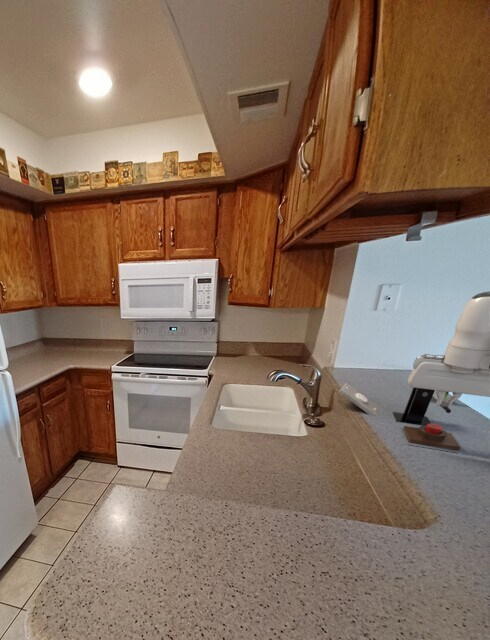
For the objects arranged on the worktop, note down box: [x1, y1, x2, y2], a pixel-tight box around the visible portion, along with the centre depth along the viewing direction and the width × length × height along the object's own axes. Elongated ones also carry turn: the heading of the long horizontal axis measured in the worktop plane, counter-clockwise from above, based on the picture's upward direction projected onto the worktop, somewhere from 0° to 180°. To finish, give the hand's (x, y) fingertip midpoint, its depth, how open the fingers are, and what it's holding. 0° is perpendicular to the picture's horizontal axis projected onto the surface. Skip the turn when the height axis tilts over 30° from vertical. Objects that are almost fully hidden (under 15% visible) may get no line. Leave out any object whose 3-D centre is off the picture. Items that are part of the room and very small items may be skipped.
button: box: [425, 423, 443, 434], centre depth 96 cm, size 4×4×2 cm
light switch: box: [339, 382, 381, 417], centre depth 118 cm, size 8×6×14 cm
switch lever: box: [415, 389, 452, 414], centre depth 105 cm, size 11×5×2 cm
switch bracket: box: [392, 387, 435, 426], centre depth 107 cm, size 10×8×13 cm
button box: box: [402, 425, 461, 454], centre depth 97 cm, size 12×9×4 cm
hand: (442, 405), depth 92 cm, fingers closed
